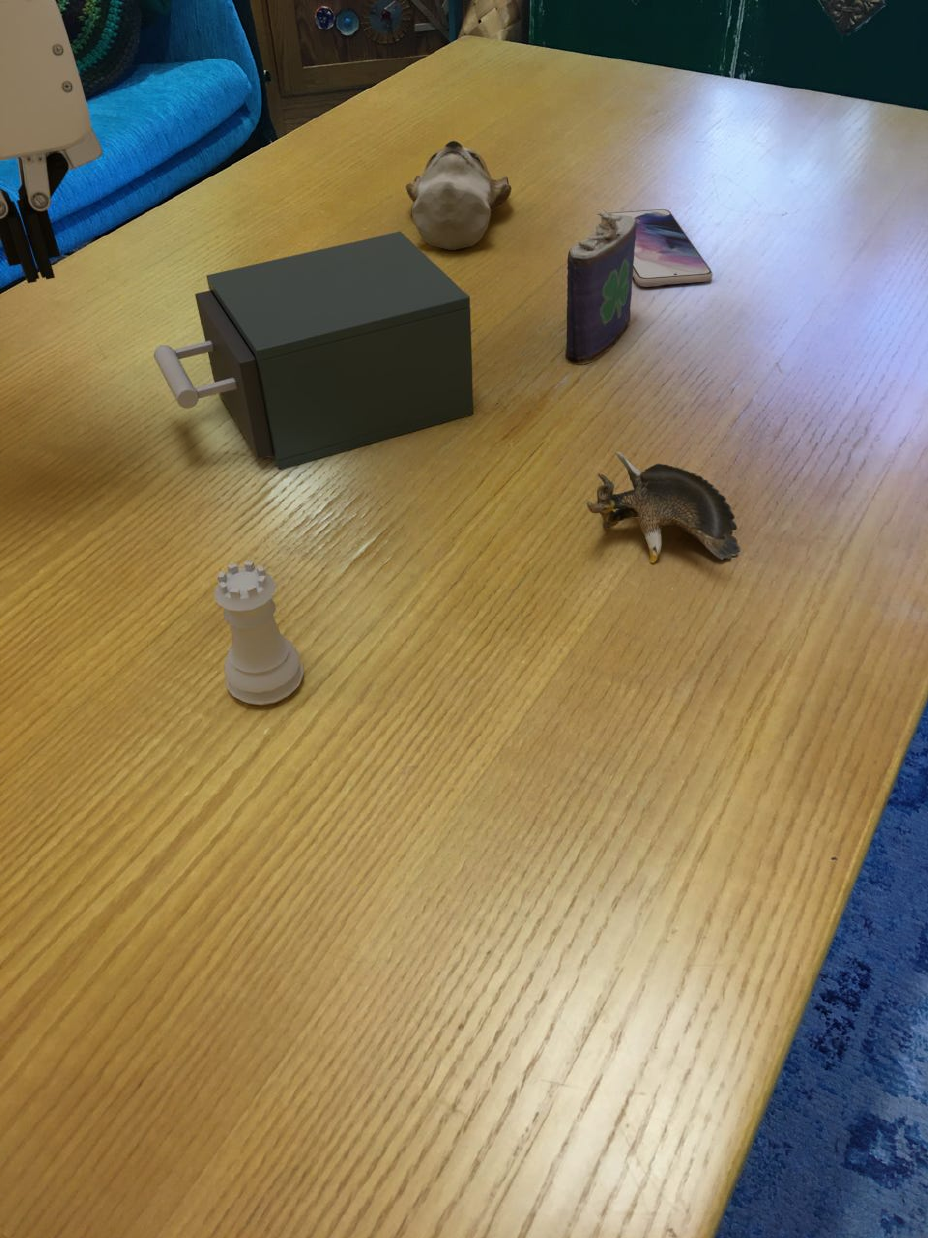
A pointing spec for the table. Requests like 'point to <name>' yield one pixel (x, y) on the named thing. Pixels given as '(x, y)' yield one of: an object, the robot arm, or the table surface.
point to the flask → (600, 288)
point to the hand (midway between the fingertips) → (37, 270)
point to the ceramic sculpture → (455, 197)
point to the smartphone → (664, 251)
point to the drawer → (221, 373)
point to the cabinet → (352, 344)
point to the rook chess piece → (255, 638)
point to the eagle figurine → (670, 507)
